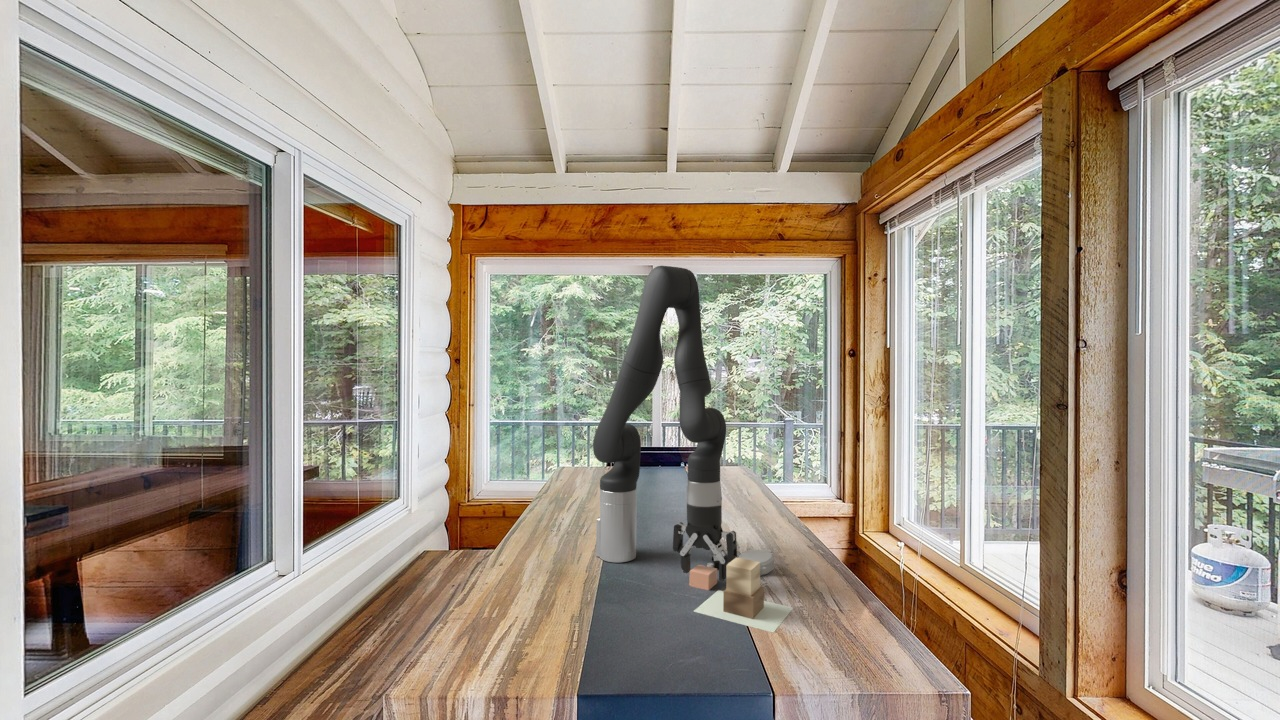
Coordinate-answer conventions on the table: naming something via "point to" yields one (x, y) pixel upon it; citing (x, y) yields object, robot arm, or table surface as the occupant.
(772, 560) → the robot toy
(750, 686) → the table surface
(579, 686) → the table surface
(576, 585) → the table surface
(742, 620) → the board
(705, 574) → the terracotta block
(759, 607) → the walnut block
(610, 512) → the robot arm
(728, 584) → the maple block
